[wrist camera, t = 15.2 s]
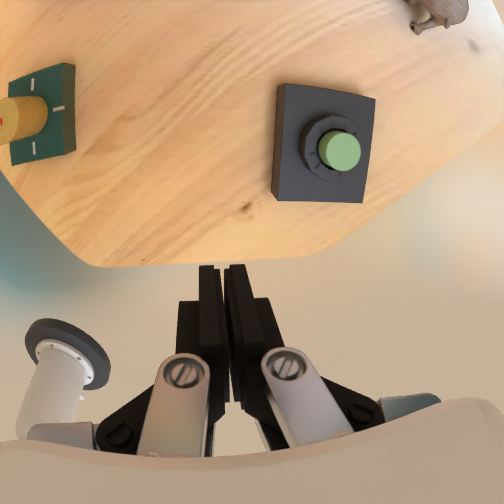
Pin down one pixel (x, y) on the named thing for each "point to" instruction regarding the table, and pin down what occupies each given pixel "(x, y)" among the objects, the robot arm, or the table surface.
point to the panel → (59, 113)
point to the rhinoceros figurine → (441, 13)
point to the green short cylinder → (339, 150)
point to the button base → (307, 140)
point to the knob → (21, 117)
